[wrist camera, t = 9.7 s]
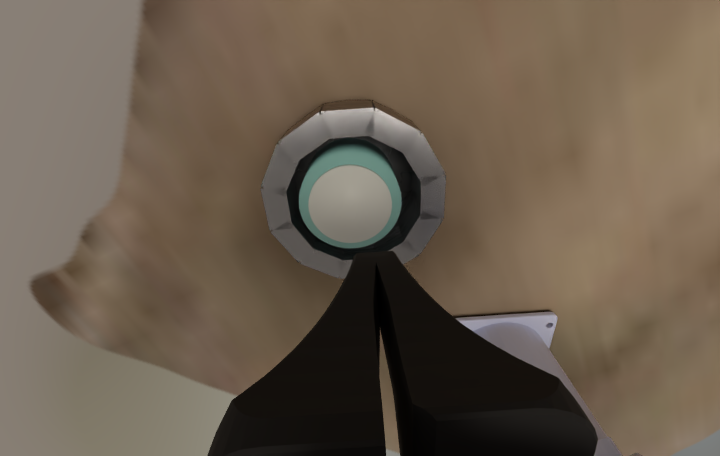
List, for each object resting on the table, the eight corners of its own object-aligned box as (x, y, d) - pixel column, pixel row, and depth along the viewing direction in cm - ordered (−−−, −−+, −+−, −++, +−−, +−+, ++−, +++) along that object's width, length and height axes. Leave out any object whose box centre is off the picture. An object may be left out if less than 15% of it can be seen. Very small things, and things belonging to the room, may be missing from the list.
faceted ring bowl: (428, 241, 22) (440, 271, 19) (290, 251, 22) (281, 282, 19) (433, 93, 18) (449, 101, 15) (263, 106, 18) (244, 116, 15)
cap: (396, 216, 20) (404, 246, 17) (314, 225, 20) (308, 256, 17) (391, 132, 18) (399, 149, 15) (299, 143, 18) (288, 161, 15)
